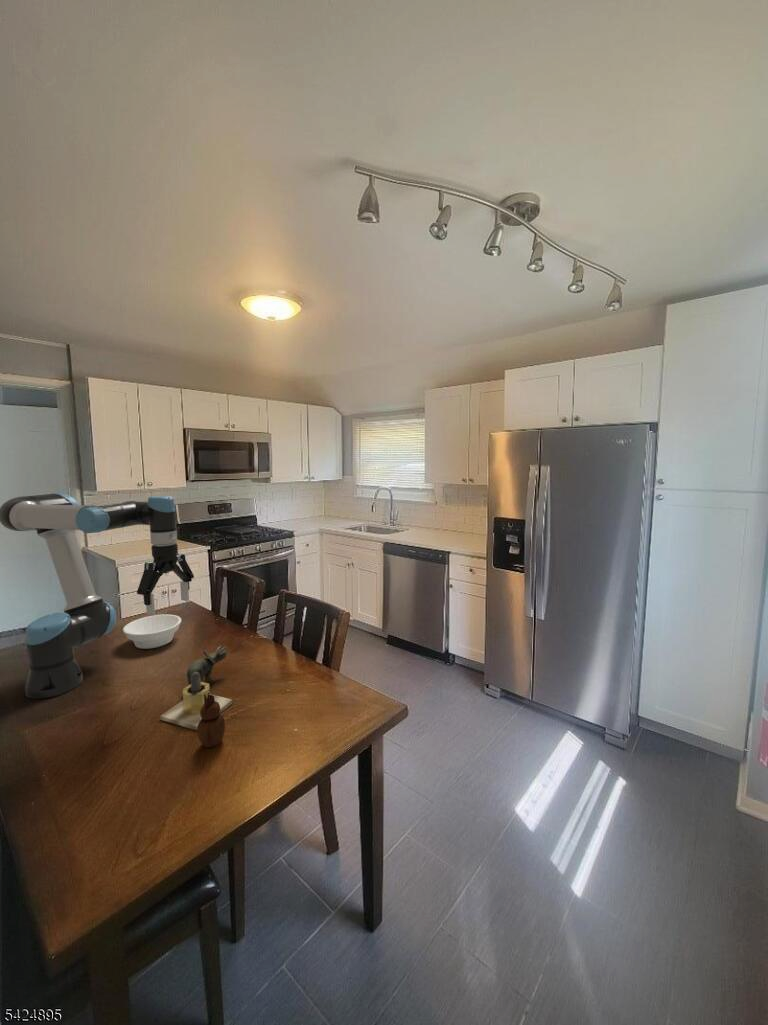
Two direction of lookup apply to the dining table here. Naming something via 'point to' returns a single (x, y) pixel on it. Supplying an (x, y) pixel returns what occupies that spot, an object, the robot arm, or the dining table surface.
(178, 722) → the post board
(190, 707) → the sleeve
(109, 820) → the dining table surface
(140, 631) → the bowl
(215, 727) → the wooden figurine
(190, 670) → the dinosaur figurine
